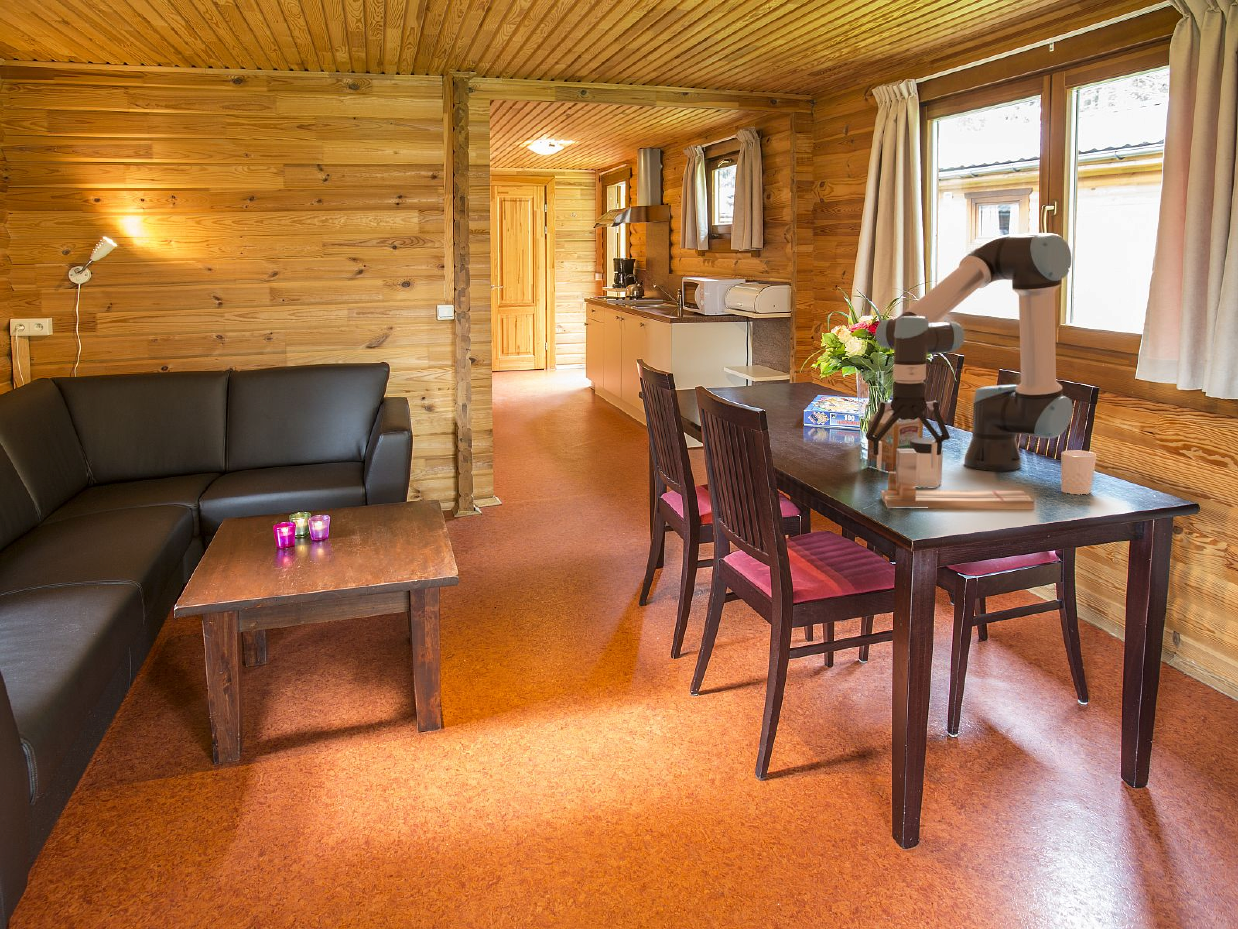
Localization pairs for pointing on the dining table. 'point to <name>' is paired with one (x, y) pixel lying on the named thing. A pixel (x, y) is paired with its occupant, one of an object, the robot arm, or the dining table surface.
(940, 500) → the board
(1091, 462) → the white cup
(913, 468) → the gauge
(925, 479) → the jar
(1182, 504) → the dining table surface
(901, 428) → the milk carton
